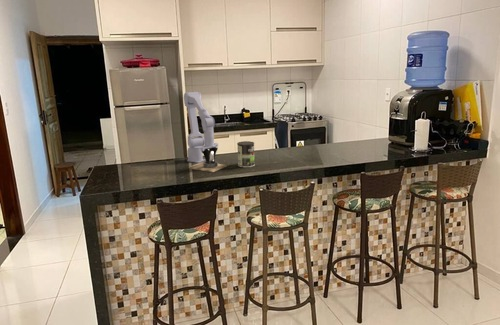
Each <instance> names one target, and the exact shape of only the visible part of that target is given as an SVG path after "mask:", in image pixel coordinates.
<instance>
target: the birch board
mask: <svg viewBox="0 0 500 325" xmlns="http://www.w3.org/2000/svg"><path fill="white" fill-rule="evenodd" d="M203 162H204V161H202V162H199V163H195V164H193V165H190V166H188V169H191V170H197V171H203V172H207V173H208V172H209V173H214V172H217V171H219V170H221V169H224V168H226V167H228V166H227V164H223V163H218V166H217V167H215V168H204V167H203Z"/></svg>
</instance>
